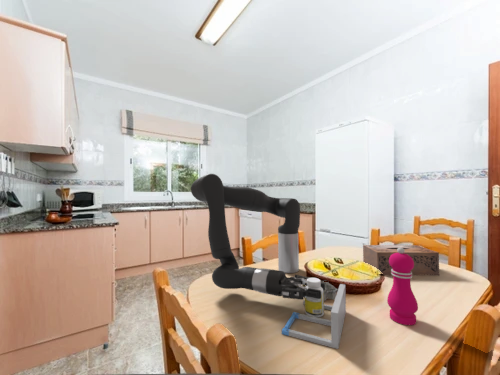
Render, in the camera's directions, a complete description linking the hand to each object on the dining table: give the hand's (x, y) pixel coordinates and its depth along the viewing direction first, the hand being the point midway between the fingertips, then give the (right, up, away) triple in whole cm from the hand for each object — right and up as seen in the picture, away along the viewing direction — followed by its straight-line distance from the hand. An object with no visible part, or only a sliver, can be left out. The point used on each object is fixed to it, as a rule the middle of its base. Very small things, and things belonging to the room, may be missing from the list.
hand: (322, 290), depth 69 cm
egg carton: (+4, -8, +15) cm, 17 cm away
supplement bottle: (-2, -7, +1) cm, 8 cm away
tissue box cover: (+47, -8, +40) cm, 63 cm away
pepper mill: (+21, -7, -3) cm, 23 cm away
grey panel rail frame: (-3, -7, -4) cm, 8 cm away
